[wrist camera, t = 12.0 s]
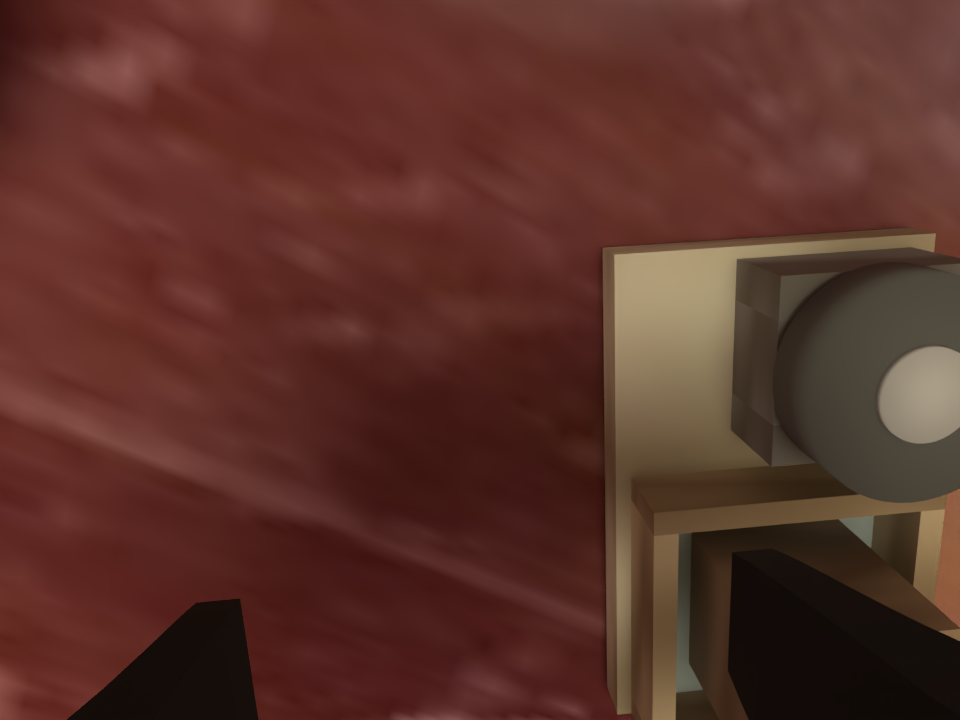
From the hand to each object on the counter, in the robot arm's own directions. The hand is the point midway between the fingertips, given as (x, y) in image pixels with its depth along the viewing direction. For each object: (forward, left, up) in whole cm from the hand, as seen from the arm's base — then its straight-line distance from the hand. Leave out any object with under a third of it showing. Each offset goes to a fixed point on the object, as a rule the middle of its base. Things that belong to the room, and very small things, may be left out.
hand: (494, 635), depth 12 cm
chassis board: (-3, -8, -10) cm, 13 cm away
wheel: (+2, -9, -8) cm, 12 cm away
